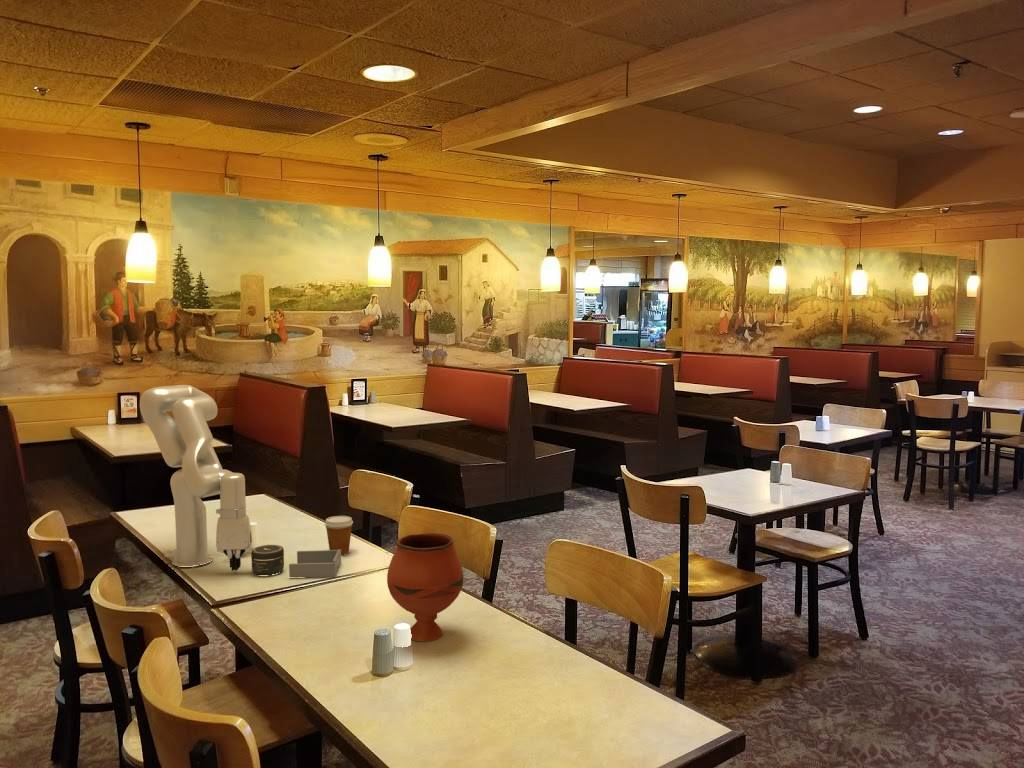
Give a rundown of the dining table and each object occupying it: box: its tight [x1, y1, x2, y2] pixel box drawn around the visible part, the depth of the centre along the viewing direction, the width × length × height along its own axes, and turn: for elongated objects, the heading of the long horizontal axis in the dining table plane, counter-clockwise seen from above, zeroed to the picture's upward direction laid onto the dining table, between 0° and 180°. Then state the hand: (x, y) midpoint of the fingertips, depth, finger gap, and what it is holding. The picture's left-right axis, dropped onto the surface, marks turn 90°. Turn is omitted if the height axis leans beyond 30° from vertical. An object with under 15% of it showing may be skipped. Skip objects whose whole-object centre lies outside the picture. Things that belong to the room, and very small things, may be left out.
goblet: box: [386, 532, 464, 642], centre depth 202 cm, size 19×19×25 cm
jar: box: [250, 544, 285, 576], centre depth 251 cm, size 10×10×8 cm
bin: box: [288, 549, 342, 578], centre depth 253 cm, size 14×14×5 cm
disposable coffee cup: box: [324, 515, 354, 556], centre depth 271 cm, size 10×10×12 cm
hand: (235, 569), depth 251 cm, fingers closed
